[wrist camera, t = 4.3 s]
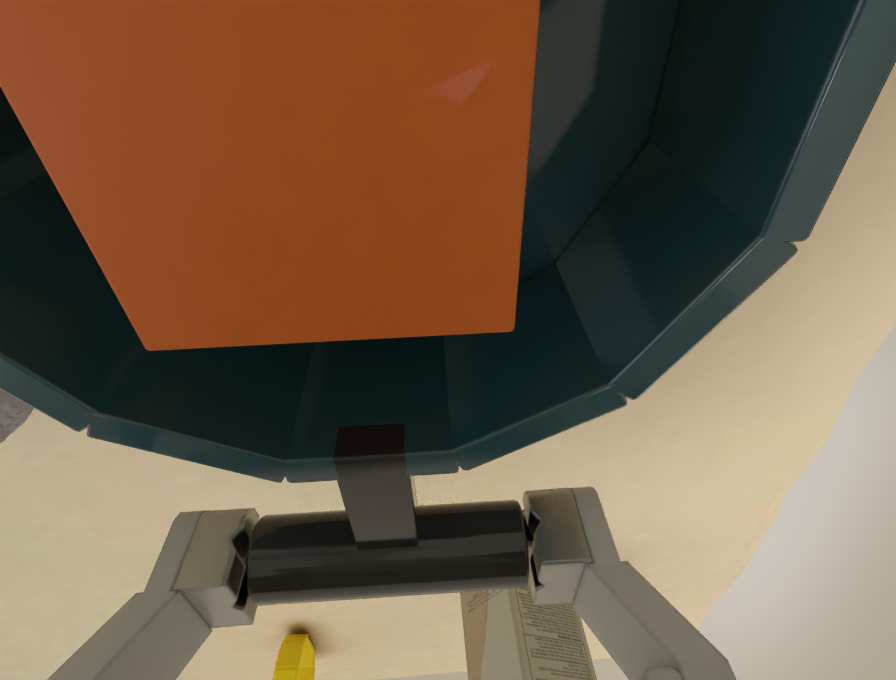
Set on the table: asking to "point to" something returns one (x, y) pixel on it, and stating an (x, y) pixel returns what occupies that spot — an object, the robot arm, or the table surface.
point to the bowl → (538, 296)
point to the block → (286, 159)
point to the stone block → (11, 414)
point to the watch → (295, 659)
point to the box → (523, 638)
